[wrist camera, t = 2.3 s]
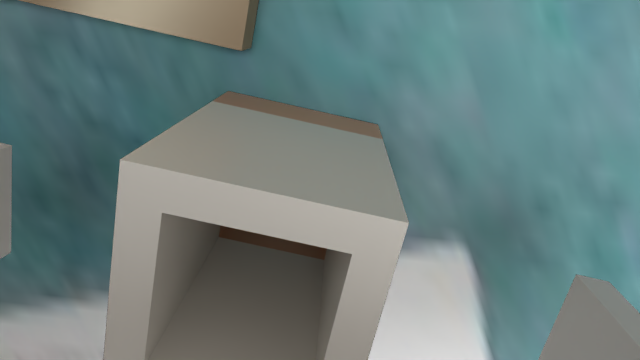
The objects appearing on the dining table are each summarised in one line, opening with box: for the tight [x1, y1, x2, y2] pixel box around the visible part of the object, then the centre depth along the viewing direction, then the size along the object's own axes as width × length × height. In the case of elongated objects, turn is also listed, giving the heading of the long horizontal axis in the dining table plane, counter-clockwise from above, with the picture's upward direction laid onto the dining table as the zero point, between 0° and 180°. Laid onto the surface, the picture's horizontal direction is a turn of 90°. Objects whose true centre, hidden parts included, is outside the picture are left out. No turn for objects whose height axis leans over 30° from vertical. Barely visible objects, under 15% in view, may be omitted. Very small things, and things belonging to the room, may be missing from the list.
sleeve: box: [103, 91, 409, 360], centre depth 13 cm, size 5×5×8 cm
